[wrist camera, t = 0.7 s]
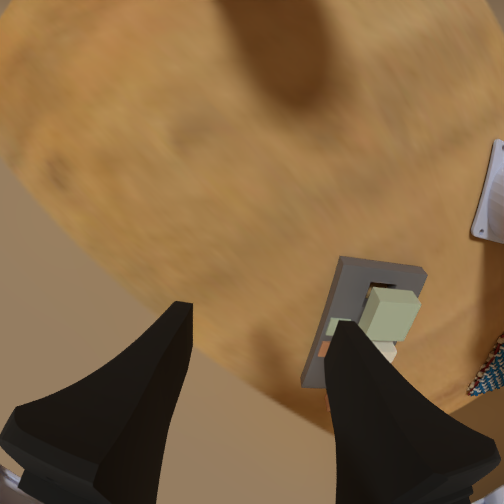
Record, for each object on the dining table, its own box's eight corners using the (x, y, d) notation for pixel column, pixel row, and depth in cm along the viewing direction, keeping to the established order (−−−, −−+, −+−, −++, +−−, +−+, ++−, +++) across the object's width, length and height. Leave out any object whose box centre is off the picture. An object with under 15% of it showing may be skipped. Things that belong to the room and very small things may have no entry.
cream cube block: (386, 326, 22) (397, 352, 19) (372, 355, 23) (380, 380, 20) (349, 324, 21) (358, 351, 19) (337, 354, 23) (343, 380, 20)
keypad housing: (421, 266, 21) (428, 276, 19) (367, 379, 26) (370, 390, 25) (339, 256, 20) (344, 265, 19) (300, 377, 26) (301, 389, 25)
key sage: (405, 281, 20) (421, 304, 17) (390, 316, 21) (403, 341, 18) (367, 276, 20) (380, 301, 17) (354, 313, 21) (363, 340, 18)
